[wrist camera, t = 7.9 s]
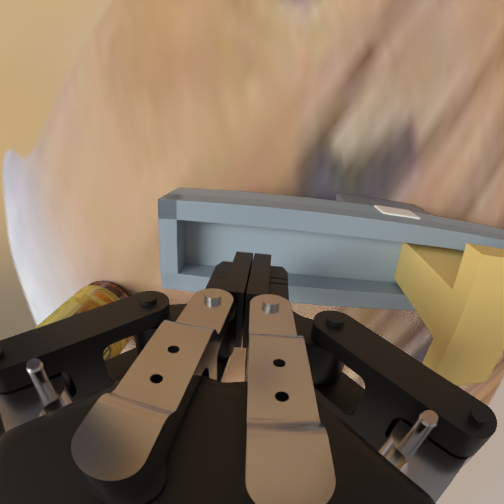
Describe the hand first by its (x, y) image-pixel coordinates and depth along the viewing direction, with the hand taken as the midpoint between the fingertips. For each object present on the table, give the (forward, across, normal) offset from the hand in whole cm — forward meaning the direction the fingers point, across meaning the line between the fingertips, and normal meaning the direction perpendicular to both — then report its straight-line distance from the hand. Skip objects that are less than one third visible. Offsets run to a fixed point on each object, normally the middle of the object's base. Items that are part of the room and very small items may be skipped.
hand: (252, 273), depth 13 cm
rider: (+4, -10, 0) cm, 11 cm away
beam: (+9, -8, 0) cm, 12 cm away
